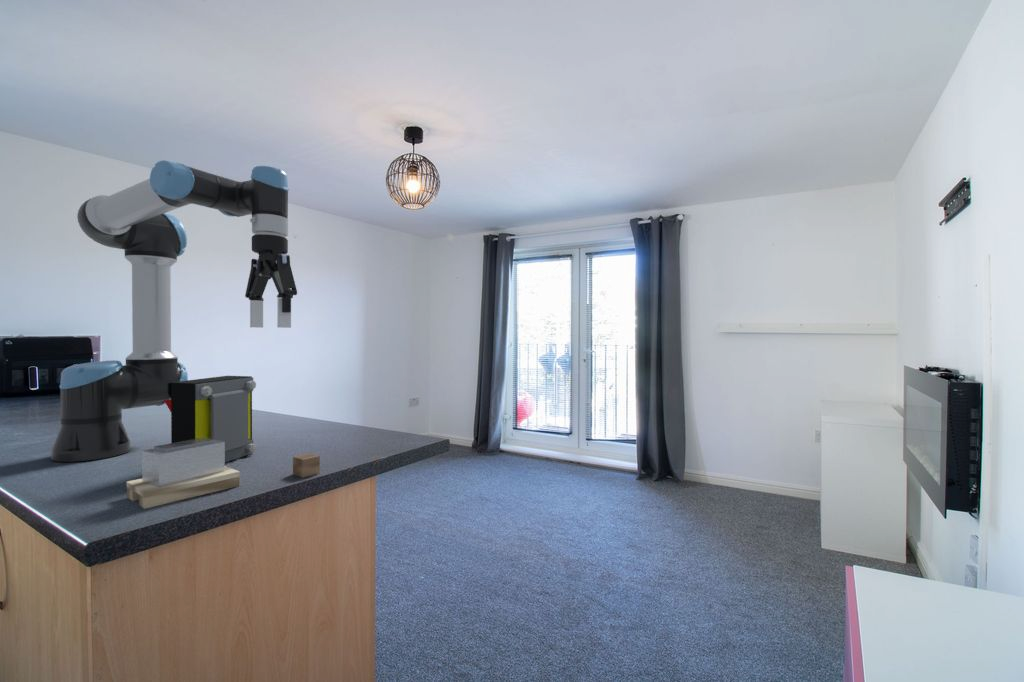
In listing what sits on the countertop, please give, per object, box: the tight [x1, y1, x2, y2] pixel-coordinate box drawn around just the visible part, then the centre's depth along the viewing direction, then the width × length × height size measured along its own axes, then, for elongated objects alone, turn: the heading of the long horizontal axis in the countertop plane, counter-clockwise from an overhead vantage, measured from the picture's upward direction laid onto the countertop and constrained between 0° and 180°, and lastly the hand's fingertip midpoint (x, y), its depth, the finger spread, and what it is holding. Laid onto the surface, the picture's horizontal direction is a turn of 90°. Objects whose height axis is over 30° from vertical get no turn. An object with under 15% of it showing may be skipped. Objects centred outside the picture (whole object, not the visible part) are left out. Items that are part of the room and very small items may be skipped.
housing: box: [141, 438, 226, 487], centre depth 94 cm, size 12×6×7 cm, turn 152°
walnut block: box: [292, 452, 321, 478], centre depth 107 cm, size 4×4×4 cm
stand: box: [126, 465, 241, 510], centre depth 94 cm, size 10×16×3 cm, turn 144°
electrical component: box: [165, 375, 257, 463], centre depth 116 cm, size 18×10×20 cm, turn 168°
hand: (269, 327), depth 112 cm, fingers open, 13 cm apart
